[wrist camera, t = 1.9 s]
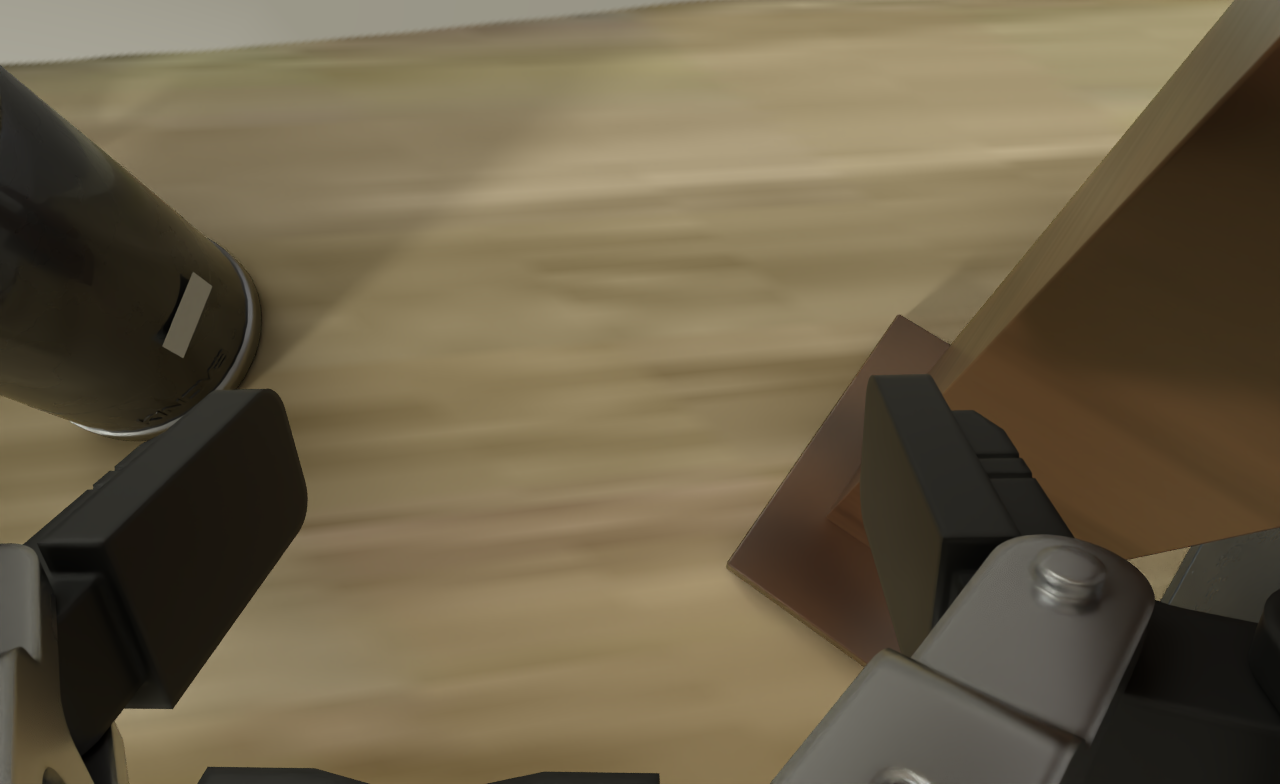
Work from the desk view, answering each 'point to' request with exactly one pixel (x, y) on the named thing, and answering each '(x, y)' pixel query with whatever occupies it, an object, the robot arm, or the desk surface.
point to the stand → (1095, 353)
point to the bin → (1229, 576)
